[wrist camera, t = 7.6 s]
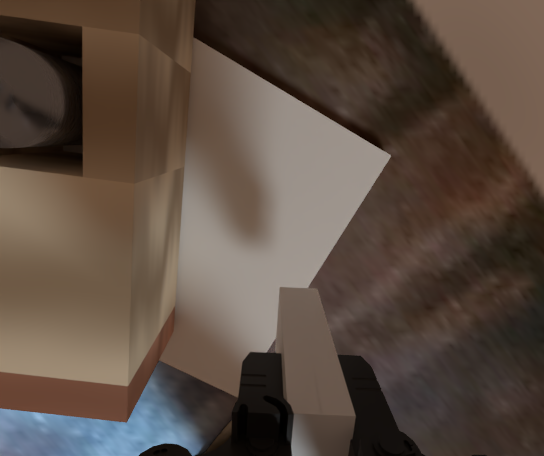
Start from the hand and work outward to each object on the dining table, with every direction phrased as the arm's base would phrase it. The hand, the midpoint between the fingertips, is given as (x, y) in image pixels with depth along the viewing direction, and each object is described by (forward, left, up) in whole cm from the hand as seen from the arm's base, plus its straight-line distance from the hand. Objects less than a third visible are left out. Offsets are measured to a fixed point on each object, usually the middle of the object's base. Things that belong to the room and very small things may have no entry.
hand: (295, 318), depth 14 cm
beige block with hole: (-10, +1, -3) cm, 11 cm away
